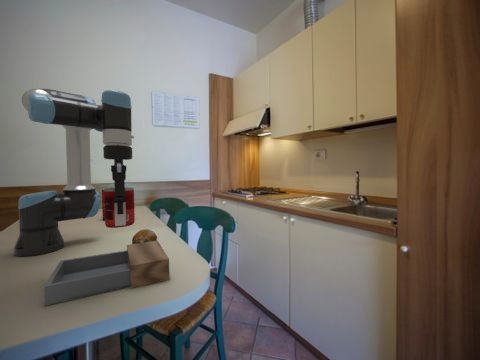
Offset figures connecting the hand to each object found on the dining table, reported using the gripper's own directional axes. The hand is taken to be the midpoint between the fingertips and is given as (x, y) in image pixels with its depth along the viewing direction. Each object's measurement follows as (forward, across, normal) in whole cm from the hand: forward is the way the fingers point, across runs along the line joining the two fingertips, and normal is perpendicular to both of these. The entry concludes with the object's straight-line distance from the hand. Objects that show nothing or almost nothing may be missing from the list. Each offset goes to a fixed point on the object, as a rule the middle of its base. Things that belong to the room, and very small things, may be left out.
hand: (120, 222), depth 68 cm
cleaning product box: (+16, +98, 0) cm, 99 cm away
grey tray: (+16, 0, +7) cm, 17 cm away
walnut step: (+16, 0, -7) cm, 17 cm away
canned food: (+1, 0, 0) cm, 1 cm away
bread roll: (+16, +30, -10) cm, 35 cm away
